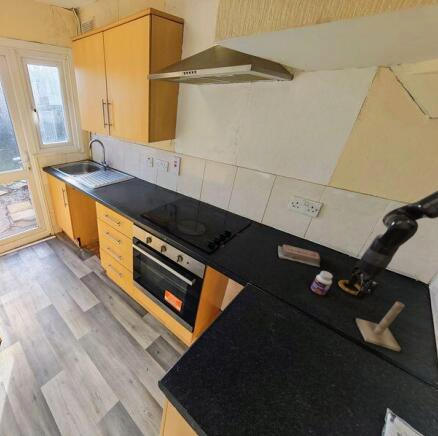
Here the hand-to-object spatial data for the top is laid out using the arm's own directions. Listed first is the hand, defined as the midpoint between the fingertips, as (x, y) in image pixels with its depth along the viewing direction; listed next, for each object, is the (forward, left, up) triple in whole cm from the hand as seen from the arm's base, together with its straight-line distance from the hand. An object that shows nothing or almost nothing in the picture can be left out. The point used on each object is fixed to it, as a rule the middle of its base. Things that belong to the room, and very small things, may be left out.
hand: (354, 290), depth 95 cm
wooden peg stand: (0, +21, -2) cm, 21 cm away
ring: (0, -3, -1) cm, 4 cm away
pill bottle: (+14, +5, -2) cm, 15 cm away
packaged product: (+18, -19, -2) cm, 27 cm away
